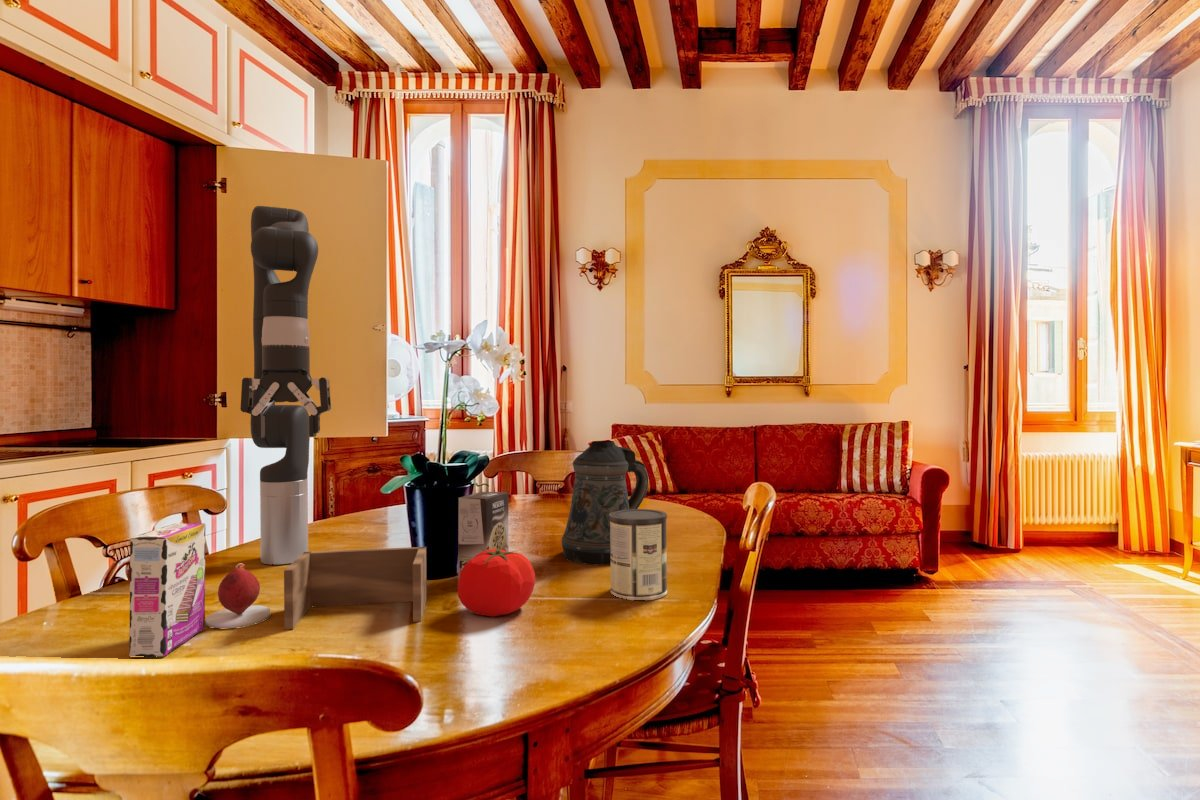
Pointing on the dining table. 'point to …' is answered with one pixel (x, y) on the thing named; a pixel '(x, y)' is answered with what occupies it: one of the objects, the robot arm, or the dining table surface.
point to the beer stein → (600, 499)
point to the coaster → (238, 617)
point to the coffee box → (481, 525)
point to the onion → (238, 589)
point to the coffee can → (638, 554)
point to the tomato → (496, 582)
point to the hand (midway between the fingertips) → (286, 437)
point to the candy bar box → (166, 588)
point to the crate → (355, 580)
